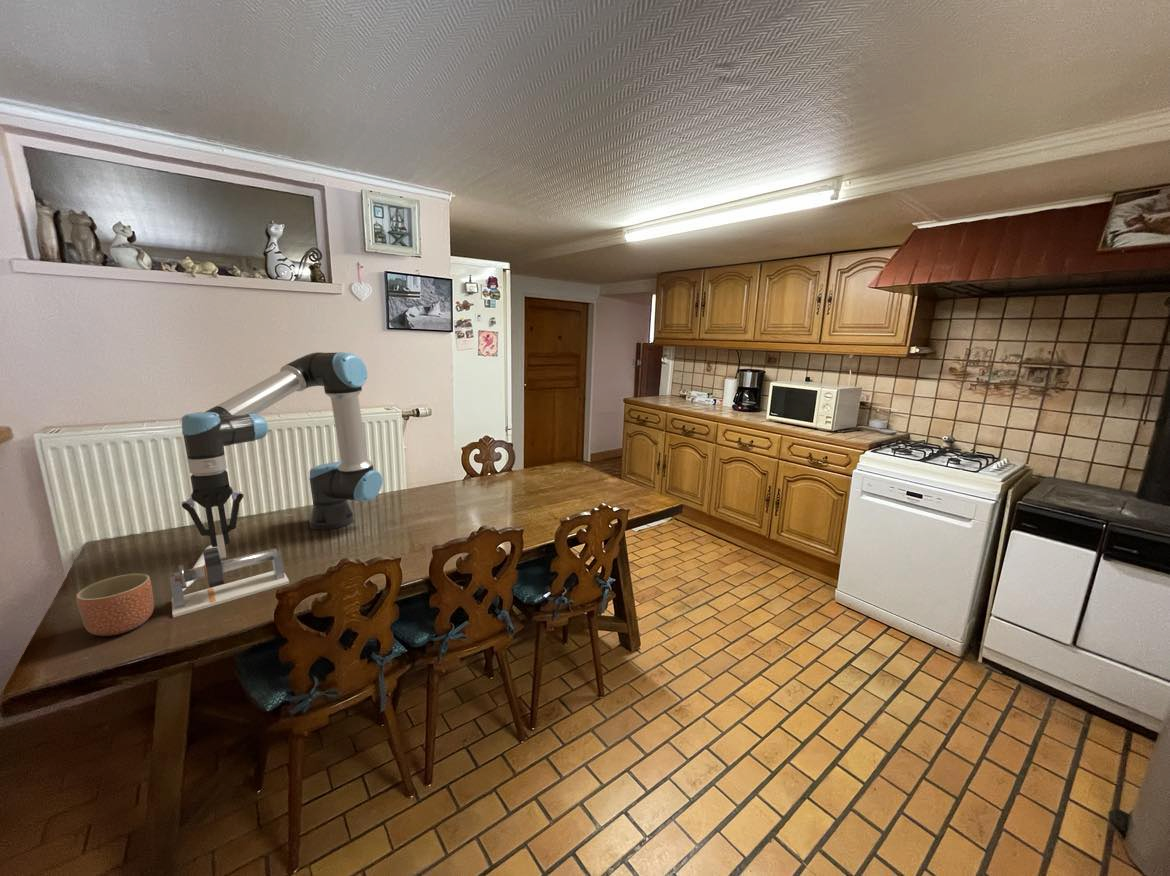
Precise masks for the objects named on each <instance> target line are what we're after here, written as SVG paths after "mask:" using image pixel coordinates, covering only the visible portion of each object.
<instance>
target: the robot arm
mask: <svg viewBox="0 0 1170 876" xmlns="http://www.w3.org/2000/svg"><path fill="white" fill-rule="evenodd" d="M367 378H368V371H367V366H366V364H365V363H364V361H363V360H362V359H361V358H360V357H359V355H356V354H354V353H351V352H350V353H349V352H323V351H322V352H312V353H308V354H305V355H303V356H301V357H298V358H297V359H294V360H293V361H291V362H288V363H287V364H285V365H283V366H281V368H280V369H279V371H278V372H277V373H275V374H273V375H271V376H270V377H268V378H265V379H264V380H262V381H260V382H258V383H256V384H255V385H253V386H251V387H249V388H246V389H245V390H243V391H242V392H240V393H238V394H236V395H235V396H232V397H230V398H229V399H227V400H225V401H223V402H221V403H219V404H217V405H215V406H214V407H213V406H212V407H211V408H210V409H208V410H206V411H202V412H201V411H200V412H199V411H197V412H191V413H187V414H185V415H184V414H183V416H182V417H181V434H182V435H183V441H184V446H185V447H184V448H185V452H186V457H187V463H188V469H189V473H190V474H191V475H190V483H191V488H192V492H191V494H190V495H191V496H190V498H188V499H186V500H184V501H182V502H181V507H182V508H183V509H184V510H185V511H187V513H189V516H190V517H191V520H192V521H193V523H194V525H195V527H196V529H197V530H198V532H199V534H200V535H201V536H203V537H204V536H208V537H209V540H210V545H212V547H217V549H218V552H219V556H220V560H221V559H225V558H227V552H226V546H225V545H229V544H230V536H229V532H230V531H232V530H233V531H234V530H236V528H237V523H238V517H239V510H240V505H241V504H240V503H241V501H242V500H243V498H244V494H243V492H242V491H235V490H233V488H232V486H230V479H229V474H228V471H227V470H226V469H227V468H228V466H227V460H226V454H225V447H227V446H228V447H229V446H233V445H237V444H243V443H248V442H255V441H257V440H261V439H264V438H265V437H266V436H267V434H268V430H269V428H268V421H266V419H265V418H264V416H262V415H261V414H259V413H260V412H263V411H264V410H266V409H268V408H269V407H271V406H273V405H275V404H276V403H277V402H279V401H281V400H283V399H285V398H286V397H287V396H289V395H291V394H293V393H295V392H303V391H305V390H306V389H308V388H312V387H323V390H324V394H325V396H328V397H329V398H330V401H331V407H332V413H333V419H334V420H333V421H334V425H335V431H336V437H337V438H336V439H337V444H338V450H339V456H340V461H334V462H327V463H323V464H319V465H316V466H315V465H314V466H313V467H311V468H310V470H309V473H308V474H309V486H310V491H311V498H312V499H311V500H312V509H311V513H310V516H309V526H310V527H309V528H311V529H313V530H318V531H321V530H322V531H325V530H327V531H328V530H334V529H338V528H342V527H345V526H347V525H348V526H349V525H350V524H352V523H353V522H354V521H355V513H354V511H353V508H352V507H351V505H350V502H349V501H355V502H357V503H358V502H370V501H372V500H373V499H375V498H376V497H377V496H378V495H379V493H380V491H381V489H382V486H383V476H382V474H381V473H380V472H379V471H378V470H375V469H374V463H373V461H371V460H369V459H368V455H367V448H366V447H367V446H366V439H365V433H364V426H363V420H362V413H361V407H360V400H359V395H360V394H361V393H362V392H363V386H364V385H365V384H366V382H367ZM230 497H231V498H232V505H231V506H232V507H231V512H230V517H229V518H230V519H229V524H228V523H227V516H226V511H225V504H226V503H227V502H228V500H229V498H230ZM195 503H197V504H198V505H200V506H201V507H203V508H204V509H205V516H206V521H207V528H208V529H206V527H205V526H204V524H203V522H202V520H201V518H200V517H199V514H198V513H197V510H196V509H195V506H196V505H195ZM213 507H217V511H218V517H219V524H220V528H221V529H220V530H221V531H219V532H218V531H217V532H216V528H215V521H214V520H215V519H214V515H213V509H212V508H213Z"/></svg>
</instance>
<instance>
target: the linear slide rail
mask: <svg viewBox="0 0 1170 876" xmlns="http://www.w3.org/2000/svg"><path fill="white" fill-rule="evenodd" d="M283 560H284V559H283V555H282V552H281V551H280V550H279V549H278V550H277V548H276V547H275V548H271V549H267V550H262V551H259V552H255V553H251V554H245V555H241V556H238V557H234V558H231V559H230V558H229V559H225V560H220V562H221V568H222V574H223V573H227V572H230V571H234V570H239V569H242V568H246V567H249V566H253V565H257V564H262V563H265V562H268V561H271V563H272V569H273V570H272V571H274V576H275V577H276V579H277V580H278V579H281V578H285V575H284V573H285V567H284V561H283ZM173 575H174V576H170V577H169V585H170V590H171V595H172V598H173V602H174V607H175V609H176V608H180V607H183V606H185V600H184V595H185V594H184V591H183V589H184V588H186V589H188V587H187V586H186V582H188V581H192V580H195V581H197V580H198V579H203V578H207V577H208V575H207V570H206V565H203V566H201V567H197V568H193V567H192V568H189V569H184V565H183V564H182V565H181V564H180V565H178V572H177V571H176V572H174V573H173Z"/></svg>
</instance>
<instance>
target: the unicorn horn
mask: <svg viewBox="0 0 1170 876" xmlns="http://www.w3.org/2000/svg"><path fill="white" fill-rule="evenodd" d="M210 548H215V547H212V545H211V544H209V545H208V546H207V547H206V548H205V549H204V550H206V549H210ZM203 565H205V560H204V555H203V552H202V554H201V555H200V557H199V558H198V559H197V561H196V563H195V564H194V565H193V566H192V569H193V568H197V567H201V566H203ZM195 581H196V580H192V581H188V582H186V586H187V588H189V587H190V586H191V585H192V584H193V583H194V582H195ZM187 588H184V589H183V592H184V591H185V590H186V589H187Z"/></svg>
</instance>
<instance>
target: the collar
mask: <svg viewBox="0 0 1170 876" xmlns="http://www.w3.org/2000/svg"><path fill="white" fill-rule="evenodd" d="M205 549H206V548H205ZM205 549H203V550H202V553H203V555H204V560H205V565H206V570H207V575H208V577H206V578H207V583H208V586H209V588H212V587H216V586H219V585H223V584H225V580H224V574H223V573H222V568H221V559H220V556H219V552H218V549H217V547H215V548H210V549H206V550H205Z"/></svg>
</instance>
